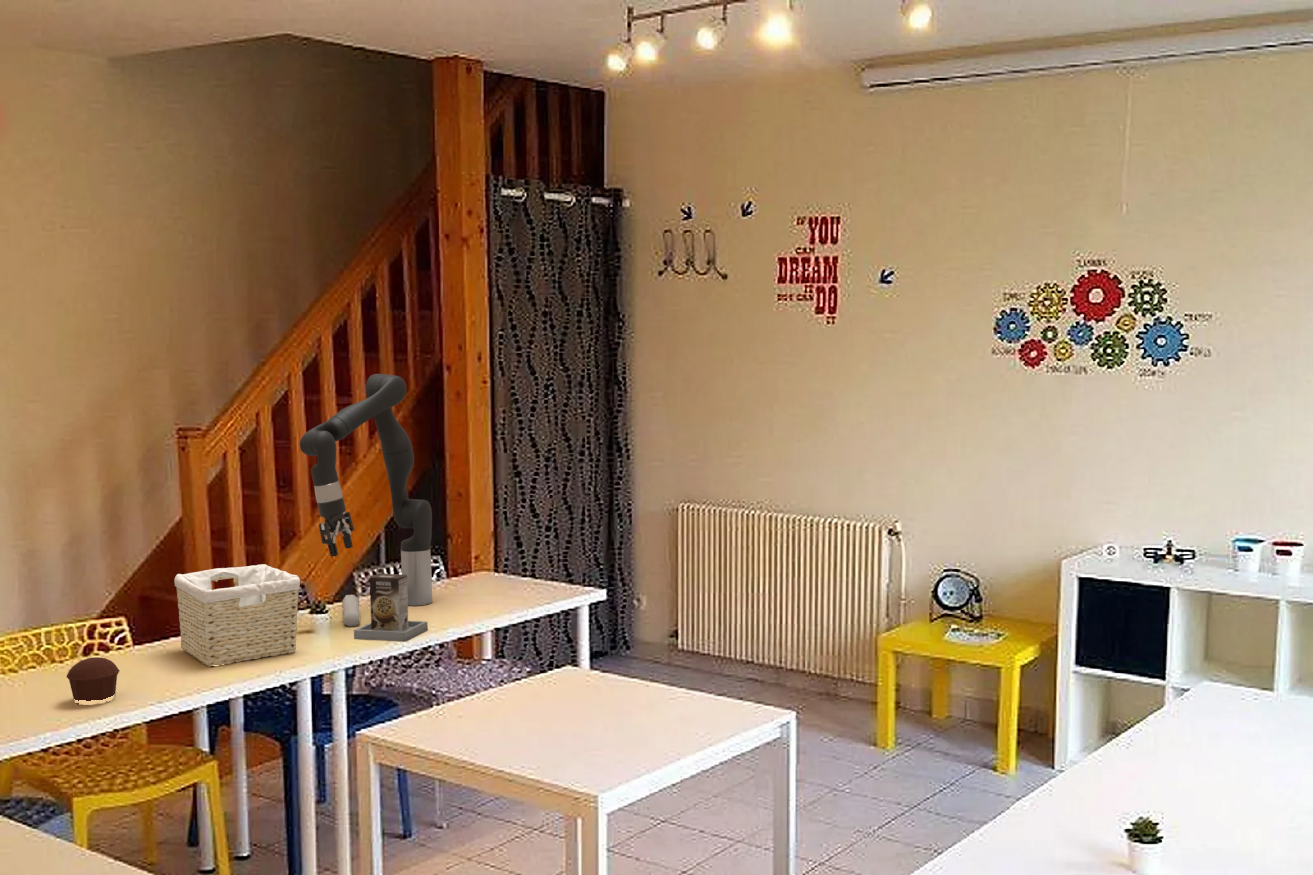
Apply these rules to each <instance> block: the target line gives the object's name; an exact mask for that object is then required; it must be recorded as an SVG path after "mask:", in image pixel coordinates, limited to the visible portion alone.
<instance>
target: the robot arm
mask: <svg viewBox="0 0 1313 875" xmlns="http://www.w3.org/2000/svg"><path fill="white" fill-rule="evenodd" d="M407 390H408V389H407V383H406V382H405V380H404V379H403V377H401V376H398V375H394V374H385V373H375V374H372V375H370V376H369V377H368V378H367V381H366V384H365V393H366V394H365V395H366V398H365V399H363V400H361V401H358V402H356V403H353V404H350V405H348V406H346V407H344V408H342V409H341V410H339V411H338V412H337V413H335V414H333V416H331V417H330V418H329V419H328V420H326V421H325V422H322V423H320V424H317V425H316V426H315V427H312V428H310V429H309V430H308V431H306V432H305V433H304V434H303V435H302V437H301V439H300V441H299V449H300V450H301V452H302V453H303V454H304V455H306V456H310V457H315V456H316V461H317V462H316V464H314V465H313V466H312V467H311V469H310V470H311V477H312V481H313V488H314V494H315V499H316V500H315V501H316V503H317V508H318V512H319V516H320V517H321V518H324V522H321V523H319V524H318V528H319V533H320V538H321V543H322V545H324V544H326V545H327V548H328V552H329V555H330V556H331V557H337V556H338V555H339V553H338V552H339V551H338V547H337V543H336V538H337V536H338V535H339V533H340V534H341V535H342V539H343V544H344V548H345V549H346V550H347V549H352V548H353V541H352V537H351V536H352V532H354V531H355V527H354V523H353V520H352V517H351V513H350V511H346V510H347V508H346V503H345V498H344V495H343V490H342V486H341V484H340V482H339V477H338V472H337V469H336V464H337V443H336V442H338V441H341V440H343V439H345V438H346V437H347V436H349V435H350V434H351V433H352V432H354V431H355V430H356V429H358V428H359V427H360V426H362V425H363V424H365V423H366V422H367V421H370V420H371V419H372V418H373V419H374V421H375V422H374V423H375V427H376V430H377V433H378V438H379V442H380V446H381V447H380V448H381V452H382V453H381V454H382V457H383V461H384V466H385V468H386V473H387V478H388V482H389V490H390V497H391V503H392V512H393V517H394V521H395V524H396V525H397V526H398V527H399V528H402V529H413V534H412V536H410V537H409V538H407V539H404V540H402V541H401V542H400V562H401V564H400V565H401V575H407V591H408V606H410V607H411V606H413V607H414V606H416V607H417V606H424V605H429V604H432V603H433V579H432V578H433V577H432V574H433V573H432V557H431V554H432V553H431V542H432V534H433V532H432V530H433V529H432V527H433V526H432V525H433V512H432V506H431V504H430V502H429V501H428V500H426V499H417V498H416V499H415V498H412V499H411V498H409V496H408V495H409V494H408V490H407V484H408V480H409V478H410V477H409V476H410V475H411V473H412V470H413V467H414V463H415V455H414V450H413V445H412V442H411V439H410V437H409V435H408V434H407V432H406V430H405V429H404V428H403V426H402V425H401V423H399V421H398V419H397V418H396V416H395V414H394V411H393V407H395V406H398V404H400V403H401V402H402V401H403V400H404V399H405V397H406V395H407Z"/></svg>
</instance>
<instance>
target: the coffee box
mask: <svg viewBox="0 0 1313 875" xmlns="http://www.w3.org/2000/svg"><path fill="white" fill-rule="evenodd" d="M369 592H370V593H369V594H370V596H369V598H370V623H371V630H379V631H400V632H404V631H406V630H408V629H409V627H408V621H409V605H408V591H407V575H402V574H397V573H396V574H395V573H378V574H374V575H372V576H370V577H369Z"/></svg>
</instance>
